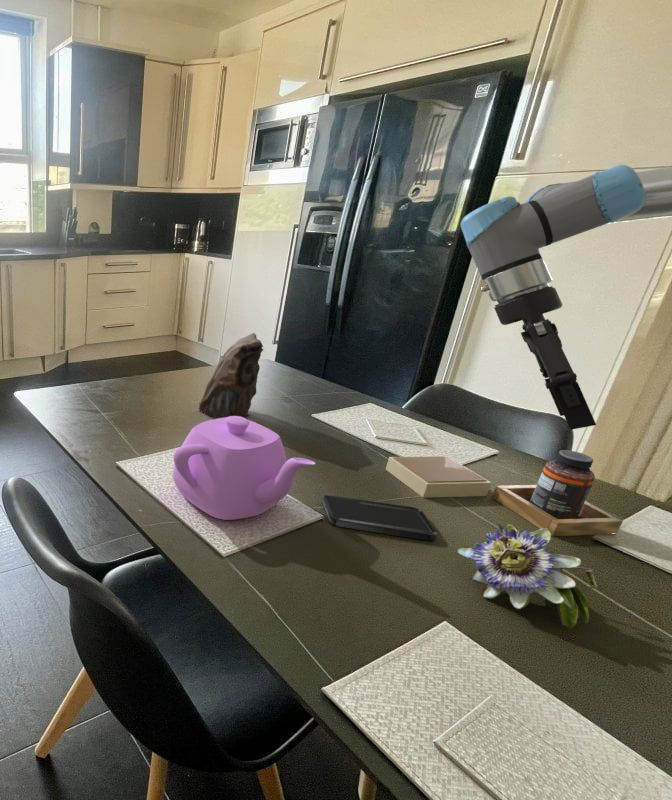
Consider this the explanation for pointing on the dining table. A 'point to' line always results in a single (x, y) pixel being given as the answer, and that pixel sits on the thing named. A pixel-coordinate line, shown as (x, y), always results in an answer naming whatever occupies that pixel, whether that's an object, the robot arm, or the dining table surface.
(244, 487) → the teapot
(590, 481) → the supplement bottle
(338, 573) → the dining table surface
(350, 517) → the phone
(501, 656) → the dining table surface
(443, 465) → the stand
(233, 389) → the owl
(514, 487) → the rectangular wooden frame
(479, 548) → the passion flower
